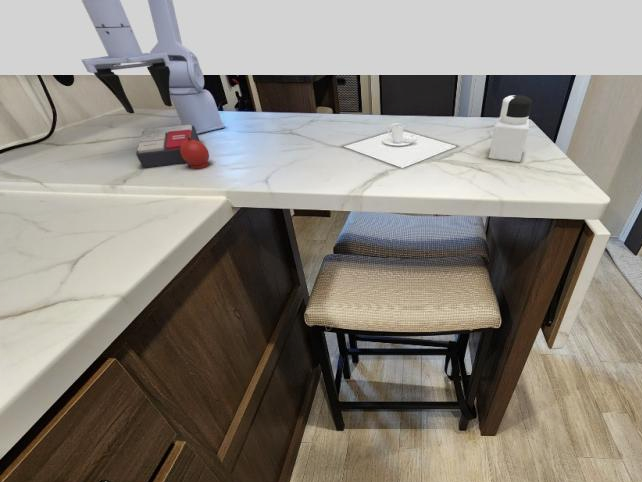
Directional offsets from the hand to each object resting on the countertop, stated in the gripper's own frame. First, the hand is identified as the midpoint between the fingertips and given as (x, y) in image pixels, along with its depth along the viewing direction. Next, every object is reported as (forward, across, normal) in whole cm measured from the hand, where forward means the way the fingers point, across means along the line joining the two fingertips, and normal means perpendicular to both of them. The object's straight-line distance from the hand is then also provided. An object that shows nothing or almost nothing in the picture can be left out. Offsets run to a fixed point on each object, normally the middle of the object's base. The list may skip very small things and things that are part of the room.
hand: (150, 109), depth 70 cm
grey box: (+9, 0, -1) cm, 9 cm away
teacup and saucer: (+9, +38, -39) cm, 55 cm away
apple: (+9, 0, -13) cm, 16 cm away
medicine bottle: (+9, +49, -62) cm, 79 cm away
